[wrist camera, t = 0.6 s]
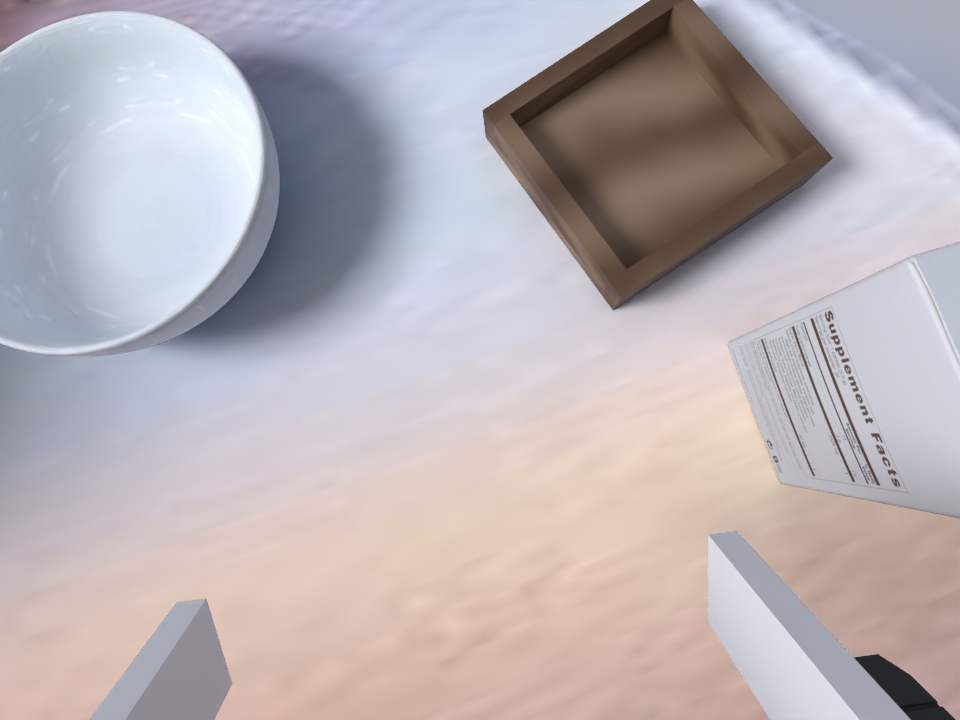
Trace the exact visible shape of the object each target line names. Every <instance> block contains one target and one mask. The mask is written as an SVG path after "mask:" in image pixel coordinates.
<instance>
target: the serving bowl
mask: <svg viewBox="0 0 960 720" xmlns="http://www.w3.org/2000/svg"><path fill="white" fill-rule="evenodd" d="M279 193H280V174H279V162H278V156H277V150H276V146H275V141H274V138H273V134H272V131H271V128H270V125H269V122H268V120H267V117H266V115H265V113H264V111H263V108H262V106H261V104H260V102H259V100H258V98H257V96H256V94H255V92H254V90H253V89H252V87H251V85H250V83H249V82H248V80H247V79H246V77H245V75H244V74H243V73H242V71H241V70H240V68H239V67H238V66H237V65H236V63H235V62H234V61H233V60H232V59H231V58H230V57H229V56H228V55H227V54H226V53H225V52H224V51H223V50H222V49H221V48H220V47H219V46H218V45H217V44H215V43H214V42H213V41H212V40H210V39H209V38H207V37H206V36H205V35H203V34H202V33H200V32H198V31H196V30H195V29H193V28H191V27H189V26H187V25H185V24H182V23H180V22H178V21H175V20H172V19H169V18H166V17H162V16H158V15H153V14H147V13H140V12H129V11H108V12H98V13H92V14H86V15H82V16H77V17H73V18H70V19H66V20H63V21H60V22H57V23H54V24H52V25H49V26H47V27H44V28H42V29H40V30H37V31H35V32H33V33H32V34H30V35H28V36H26V37H24V38H22V39H21V40H19V41H17V42H16V43H14V44H12V45H11V46H9V47H8V48H7V49H5V50H4V51H2V52H1V53H0V344H3V345H6V346H9V347H11V348H15V349H18V350H22V351H27V352H31V353H36V354H43V355H52V356H101V355H113V354H119V353H126V352H131V351H135V350H140V349H144V348H147V347H150V346H154V345H157V344H160V343H162V342H165V341H167V340H170V339H172V338H174V337H177V336H179V335H181V334H183V333H185V332H187V331H188V330H190V329H192V328H194V327H195V326H197V325H198V324H200V323H201V322H203V321H204V320H206V319H207V318H209V317H210V316H212V315H213V314H214V313H215V312H217V311H218V310H219V309H220V308H221V307H222V306H223V305H225V304H226V303H227V302H228V301H229V300H230V299H231V298H232V297H233V296H234V295H235V294H236V293H237V292H238V290H239V289H240V288H241V287H242V286H243V284H244V283H245V282H246V280H247V279H248V278H249V276H250V275H251V274H252V272H253V271H254V269H255V267H256V266H257V264H258V263H259V261H260V259H261V257H262V255H263V253H264V251H265V249H266V247H267V244H268V242H269V239H270V236H271V234H272V231H273V228H274V224H275V220H276V216H277V210H278V204H279Z"/></svg>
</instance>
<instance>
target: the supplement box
mask: <svg viewBox="0 0 960 720" xmlns="http://www.w3.org/2000/svg"><path fill="white" fill-rule="evenodd" d="M728 347H729V350H730V353H731V356H732V358H733V361H734V364H735V366H736V369H737V371H738V374H739V377H740V379H741V382H742V385H743V387H744V390H745V393H746V395H747V398H748V401H749V403H750V406H751V408H752V411H753V414H754V416H755V419H756V422H757V424H758V427H759V429H760V432H761V435H762V437H763V440H764V443H765V445H766V448H767V450H768V453H769V456H770V458H771V461H772V464H773V467H774V469H775V472H776V474H777V477H778V479H779V482H780V483H782V484H785V485H791V486H796V487H801V488H807V489H812V490H817V491H822V492H827V493H833V494H838V495H843V496H848V497H853V498H858V499H864V500H869V501H874V502H879V503H884V504H890V505H895V506H900V507H905V508H910V509H915V510H920V511H925V512H930V513H935V514H941V515H946V516H951V517H956V518H960V242H957V243H954V244H951V245H947V246H944V247H941V248H937V249H934V250H931V251H927V252H924V253H921V254H918V255H914V256H911V257H909V258H906V259H904V260H903V261H901V262H898V263H896V264H894V265H892V266H890V267H888V268H886V269H884V270H882V271H880V272H878V273H875V274H873V275H871V276H869V277H867V278H865V279H863V280H861V281H858V282H856V283H854V284H852V285H850V286H848V287H846V288H843V289H841V290H839V291H837V292H835V293H833V294H830V295H828V296H826V297H824V298H822V299H820V300H818V301H816V302H813V303H811V304H809V305H807V306H805V307H803V308H801V309H798V310H796V311H794V312H792V313H790V314H787V315H785V316H783V317H781V318H779V319H777V320H775V321H773V322H770V323H768V324H766V325H764V326H762V327H760V328H758V329H756V330H754V331H752V332H749V333H747V334H745V335H743V336H741V337H739V338H737V339H735V340H732V341H730V342H729V343H728Z"/></svg>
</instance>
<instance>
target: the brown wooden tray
mask: <svg viewBox="0 0 960 720" xmlns="http://www.w3.org/2000/svg"><path fill="white" fill-rule="evenodd" d="M483 117H484V125H485V133H486V138H487V139H488V141H489V142H490V143H491V145H492V146H493V147H494V149H495V150H496V151H497V153H498V154H499V155H500V157H501V158H502V160H503V161H504V162H505V164H506V165H507V166H508V168H509V169H510V170H511V172H512V173H513V175H514V176H515V177H516V179H517V180H518V181H519V183H520V184H521V185H522V187H523V188H524V190H525V191H526V192H527V194H528V195H529V196H530V198H531V199H532V200H533V202H534V203H535V204H536V206H537V207H538V209H539V210H540V211H541V213H542V214H543V215H544V217H545V218H546V219H547V221H548V222H549V224H550V225H551V226H552V228H553V229H554V230H555V232H556V233H557V234H558V236H559V237H560V239H561V240H562V241H563V243H564V244H565V245H566V247H567V248H568V249H569V251H570V252H571V253H572V255H573V256H574V258H575V259H576V260H577V262H578V263H579V264H580V266H581V267H582V268H583V270H584V271H585V273H586V274H587V275H588V277H589V278H590V279H591V281H592V282H593V283H594V285H595V286H596V288H597V289H598V290H599V292H600V293H601V294H602V296H603V297H604V298H605V300H606V301H607V303H608V304H609V305H610V307H611V308H612V309H613V310H614V309H615V308H617V307H619V306H620V305H622V304H623V303H625V302H626V301H628V300H629V299H631V298H632V297H634V296H635V295H637V294H638V293H640V292H641V291H643V290H644V289H646V288H647V287H649V286H650V285H652V284H653V283H655V282H656V281H658V280H659V279H661V278H662V277H664V276H665V275H667V274H668V273H670V272H671V271H673V270H674V269H676V268H677V267H679V266H680V265H682V264H683V263H685V262H687V261H688V260H690V259H691V258H693V257H694V256H696V255H697V254H699V253H700V252H702V251H703V250H705V249H706V248H708V247H709V246H711V245H712V244H714V243H715V242H717V241H718V240H720V239H721V238H723V237H724V236H726V235H727V234H729V233H730V232H732V231H733V230H735V229H736V228H738V227H739V226H741V225H742V224H744V223H745V222H747V221H748V220H750V219H751V218H753V217H755V216H756V215H758V214H759V213H761V212H762V211H764V210H765V209H767V208H768V207H770V206H771V205H773V204H774V203H776V202H777V201H779V200H780V199H782V198H783V197H785V196H786V195H788V194H789V193H791V192H792V191H794V190H795V189H797V188H798V187H800V186H801V185H803V184H804V183H806V182H807V181H808V180H809V179H810V178H811V177H812V176H814V175H815V174H816V173H817V172H818V171H819V170H820V169H821V168H822V167H824V166H825V165H826V164H827V163H828V162H829V161H830V160H831V159H832V157H831V155H830V154H829V153H828V152H827V151H826V150H825V149H824V148H823V146H822V145H821V144H820V143H819V142H818V141H817V140H816V139H815V137H814V136H813V135H812V134H811V133H810V132H809V131H808V130H807V128H806V127H805V126H804V125H803V124H802V123H801V122H800V120H799V119H798V118H797V117H796V116H795V115H794V114H793V113H792V111H791V110H790V109H789V108H788V107H787V106H786V105H785V104H784V102H783V101H782V100H781V99H780V98H779V97H778V96H777V95H776V93H775V92H774V91H773V90H772V89H771V88H770V87H769V86H768V84H767V83H766V82H765V81H764V80H763V79H762V78H761V77H760V75H759V74H758V73H757V72H756V71H755V70H754V69H753V67H752V66H751V65H750V64H749V63H748V62H747V61H746V60H745V58H744V57H743V56H742V55H741V54H740V53H739V52H738V51H737V49H736V48H735V47H734V46H733V45H732V44H731V43H730V42H729V40H728V39H727V38H726V37H725V36H724V35H723V34H722V33H721V31H720V30H719V29H718V28H717V27H716V26H715V25H714V24H713V22H712V21H711V20H710V19H709V18H708V17H707V16H706V15H705V13H704V12H703V11H702V10H701V9H700V8H699V7H698V5H697V4H696V3H695V2H694V1H693V0H650V1H649V2H647V3H646V4H644V5H643V6H641V7H640V8H638V9H637V10H635V11H634V12H632V13H630V14H629V15H627V16H626V17H624V18H623V19H621V20H620V21H618V22H617V23H615V24H614V25H612V26H611V27H609V28H608V29H606V30H605V31H603V32H601V33H600V34H598V35H597V36H595V37H594V38H592V39H591V40H589V41H588V42H586V43H585V44H583V45H582V46H580V47H579V48H577V49H576V50H574V51H572V52H571V53H569V54H568V55H566V56H565V57H563V58H562V59H560V60H559V61H557V62H556V63H554V64H553V65H551V66H550V67H548V68H547V69H545V70H544V71H542V72H540V73H539V74H537V75H536V76H534V77H533V78H531V79H530V80H528V81H527V82H525V83H524V84H522V85H521V86H519V87H518V88H516V89H515V90H513V91H511V92H510V93H508V94H507V95H505V96H504V97H502V98H501V99H499V100H498V101H496V102H495V103H493V104H492V105H490V106H489V107H487V108H486V109H484V110H483Z"/></svg>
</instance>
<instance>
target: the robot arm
mask: <svg viewBox="0 0 960 720" xmlns="http://www.w3.org/2000/svg"><path fill="white" fill-rule="evenodd" d="M708 623H709V625H710V626H711V628H712V629H713V631H714V633H715V634H716V636H717V637H718V639H719V640H720V642H721V643H722V645H723V647H724V648H725V650H726V651H727V653H728V654H729V656H730V658H731V659H732V661H733V662H734V664H735V665H736V667H737V669H738V670H739V672H740V673H741V675H742V676H743V678H744V680H745V681H746V683H747V684H748V686H749V687H750V689H751V691H752V692H753V694H754V695H755V697H756V698H757V700H758V702H759V703H760V705H761V706H762V708H763V709H764V711H765V713H766V714H767V716H768V717H769V719H770V720H955V719H954V718H953V717H952V716H951V715H950V714H949V713H948V712H947V711H946V710H945V709H944V708H943V707H940V706H939V705H938V704H937V701H936V700H935V699H934V698H933V697H932V696H931V695H930V694H929V693H928V692H927V691H926V690H925V689H924V688H923V687H922V686H921V685H920V684H919V683H918V682H917V681H916V680H915V679H914V678H913V677H912V676H911V675H909V674H908V673H906V672H905V671H903V670H902V669H900V668H898V667H897V666H895V665H894V664H892V663H891V662H889V661H887V660H886V659H884V658H883V657H881V656H880V655H878V654H877V655H870V656H862V657H853V656H852V655H851V654H850V653H849V652H848V651H847V650H846V649H845V648H844V647H843V646H842V644H841V643H840V642H839V641H838V640H837V639H836V638H835V637H834V636H833V635H832V634H831V633H830V631H829V630H828V629H827V628H826V627H825V626H824V625H823V624H822V623H821V622H820V621H819V620H818V618H817V617H816V616H815V615H814V614H813V613H812V612H811V611H810V610H809V609H808V608H807V607H806V605H805V604H804V603H803V602H802V601H801V600H800V599H799V598H798V597H797V596H796V595H795V594H794V592H793V591H792V590H791V589H790V588H789V587H788V586H787V585H786V584H785V583H784V582H783V581H782V579H781V578H780V577H779V576H778V575H777V574H776V573H775V572H774V571H773V570H772V569H771V568H770V566H769V565H768V564H767V563H766V562H765V561H764V560H763V559H762V558H761V557H760V556H759V555H758V553H757V552H756V551H755V550H754V549H753V548H752V547H751V546H750V545H749V544H748V543H747V542H746V540H745V539H744V538H743V537H742V536H741V535H740V534H739V533H738V532H737V531H735V532H727V533H719V534H711V535H708ZM231 685H232V681H231V678H230V675H229V672H228V668H227V665H226V662H225V658H224V655H223V652H222V648H221V645H220V642H219V639H218V635H217V632H216V629H215V625H214V622H213V619H212V616H211V612H210V609H209V606H208V602H207V599H200V600H192V601H185V602H177V603H176V604H175V605H174V607H173V608H172V609H171V611H170V612H169V613H168V615H167V616H166V617H165V619H164V620H163V621H162V623H161V624H160V626H159V627H158V628H157V630H156V631H155V632H154V634H153V635H152V636H151V638H150V639H149V640H148V642H147V643H146V644H145V646H144V647H143V648H142V650H141V651H140V652H139V654H138V655H137V656H136V658H135V659H134V660H133V662H132V663H131V664H130V666H129V667H128V669H127V670H126V671H125V673H124V674H123V675H122V677H121V678H120V679H119V681H118V682H117V683H116V685H115V686H114V687H113V689H112V690H111V691H110V693H109V694H108V695H107V697H106V698H105V699H104V701H103V702H102V703H101V705H100V706H99V708H98V709H97V710H96V712H95V713H94V714H93V716H92V717H91V718H90V720H214V719H215V717H216V715H217V713H218V711H219V709H220V707H221V705H222V703H223V701H224V699H225V697H226V695H227V693H228V691H229V689H230V687H231Z"/></svg>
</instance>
